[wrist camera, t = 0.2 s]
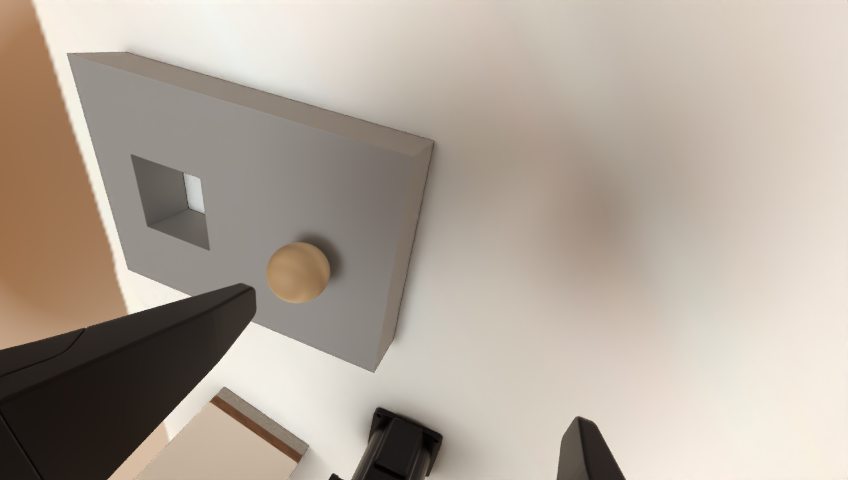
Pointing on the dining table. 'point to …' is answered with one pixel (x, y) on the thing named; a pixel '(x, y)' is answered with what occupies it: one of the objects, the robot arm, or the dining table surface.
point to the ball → (298, 272)
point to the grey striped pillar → (227, 446)
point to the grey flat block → (256, 195)
